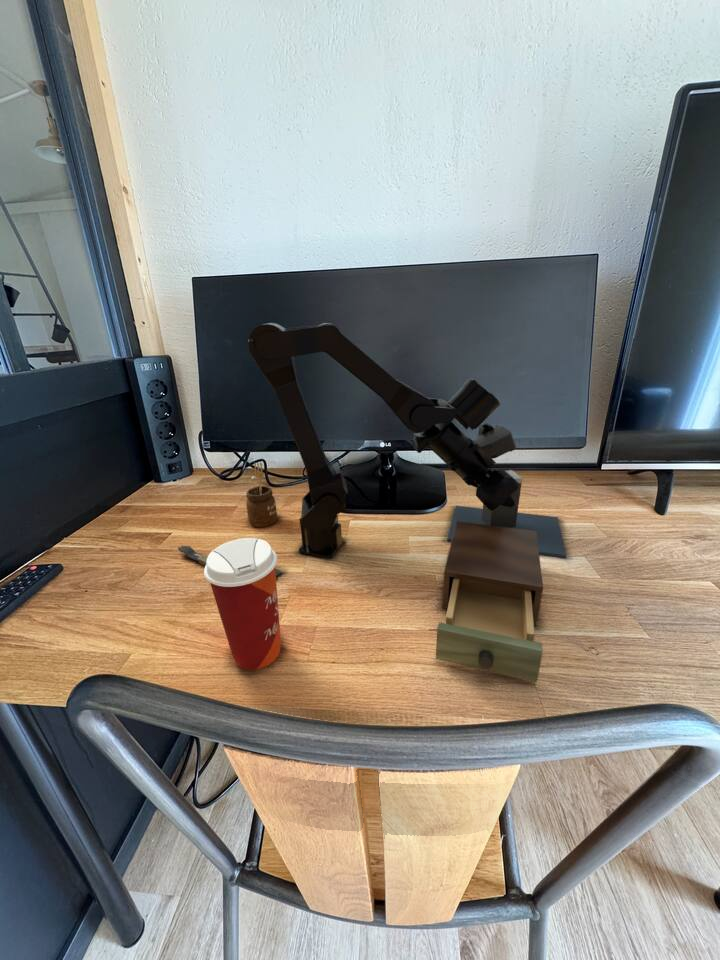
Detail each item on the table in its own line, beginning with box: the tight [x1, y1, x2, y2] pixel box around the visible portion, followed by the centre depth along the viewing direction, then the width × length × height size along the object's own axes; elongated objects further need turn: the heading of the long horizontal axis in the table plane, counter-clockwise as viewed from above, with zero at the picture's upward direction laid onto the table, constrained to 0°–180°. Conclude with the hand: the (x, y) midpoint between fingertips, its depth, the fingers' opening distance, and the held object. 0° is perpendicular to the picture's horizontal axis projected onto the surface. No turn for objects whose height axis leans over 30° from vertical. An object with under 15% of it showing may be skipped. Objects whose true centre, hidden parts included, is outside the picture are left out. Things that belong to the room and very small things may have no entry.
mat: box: [446, 505, 567, 559], centre depth 77 cm, size 20×14×1 cm
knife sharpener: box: [482, 469, 523, 528], centre depth 74 cm, size 5×4×10 cm
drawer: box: [435, 577, 544, 683], centre depth 51 cm, size 15×11×5 cm
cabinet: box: [441, 521, 544, 627], centre depth 61 cm, size 15×13×7 cm
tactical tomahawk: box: [177, 545, 283, 577], centre depth 70 cm, size 21×7×1 cm, turn 57°
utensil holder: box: [245, 461, 278, 528], centre depth 82 cm, size 6×6×12 cm
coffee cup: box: [203, 537, 282, 671], centre depth 49 cm, size 8×8×15 cm
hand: (507, 500), depth 74 cm, fingers closed on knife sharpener, 4 cm apart
